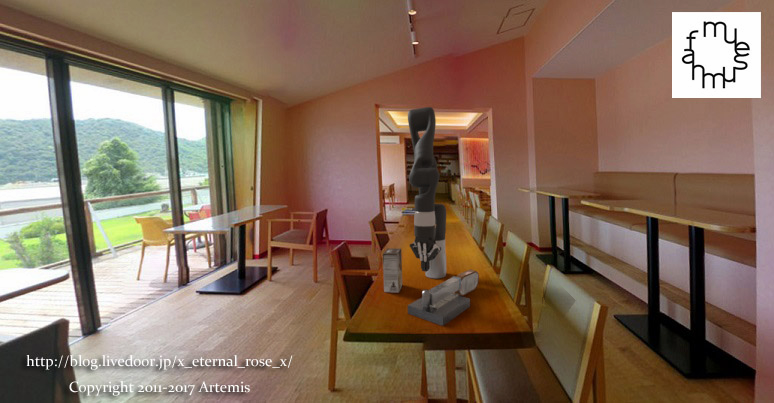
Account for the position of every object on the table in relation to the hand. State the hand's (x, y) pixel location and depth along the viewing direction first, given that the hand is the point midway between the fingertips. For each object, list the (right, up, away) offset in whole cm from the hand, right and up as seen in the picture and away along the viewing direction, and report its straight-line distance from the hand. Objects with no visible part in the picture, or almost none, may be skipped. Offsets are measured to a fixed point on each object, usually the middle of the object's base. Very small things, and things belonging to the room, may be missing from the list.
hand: (425, 270), depth 117 cm
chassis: (+5, -13, -4) cm, 14 cm away
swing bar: (+6, -9, -2) cm, 11 cm away
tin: (+18, -11, +11) cm, 24 cm away
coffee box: (-11, -11, +17) cm, 24 cm away
